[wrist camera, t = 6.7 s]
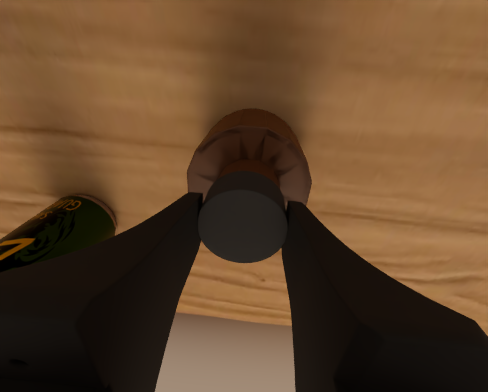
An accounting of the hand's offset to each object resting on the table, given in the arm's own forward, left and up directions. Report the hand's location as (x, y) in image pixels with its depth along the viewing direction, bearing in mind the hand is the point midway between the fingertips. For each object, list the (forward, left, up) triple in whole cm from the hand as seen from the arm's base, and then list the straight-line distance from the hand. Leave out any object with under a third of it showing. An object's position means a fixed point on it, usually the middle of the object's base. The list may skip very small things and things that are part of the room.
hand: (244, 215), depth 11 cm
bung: (0, 0, -2) cm, 2 cm away
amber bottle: (0, 0, -8) cm, 8 cm away
